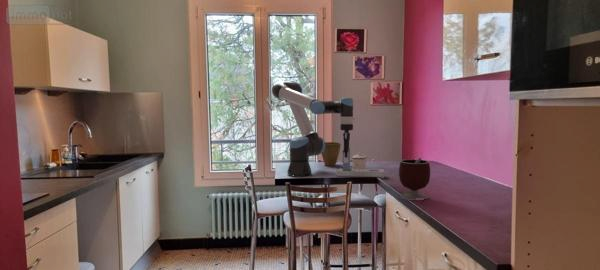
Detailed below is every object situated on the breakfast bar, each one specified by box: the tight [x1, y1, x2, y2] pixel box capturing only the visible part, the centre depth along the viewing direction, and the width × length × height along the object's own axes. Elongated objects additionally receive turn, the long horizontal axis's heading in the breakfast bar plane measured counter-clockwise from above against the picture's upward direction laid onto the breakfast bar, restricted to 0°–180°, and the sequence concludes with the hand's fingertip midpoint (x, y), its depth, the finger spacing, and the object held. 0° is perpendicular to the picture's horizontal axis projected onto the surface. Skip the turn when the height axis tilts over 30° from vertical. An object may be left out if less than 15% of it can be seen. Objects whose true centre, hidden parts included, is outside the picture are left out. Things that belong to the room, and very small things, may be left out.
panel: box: [335, 167, 385, 180], centre depth 226 cm, size 28×9×4 cm, turn 78°
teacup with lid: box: [350, 152, 367, 169], centre depth 246 cm, size 12×9×12 cm
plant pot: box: [321, 141, 342, 167], centre depth 269 cm, size 15×15×16 cm
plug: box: [342, 149, 351, 170], centre depth 227 cm, size 4×4×13 cm
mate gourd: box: [398, 157, 431, 201], centre depth 173 cm, size 16×14×20 cm
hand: (346, 162), depth 227 cm, fingers closed on plug, 4 cm apart
